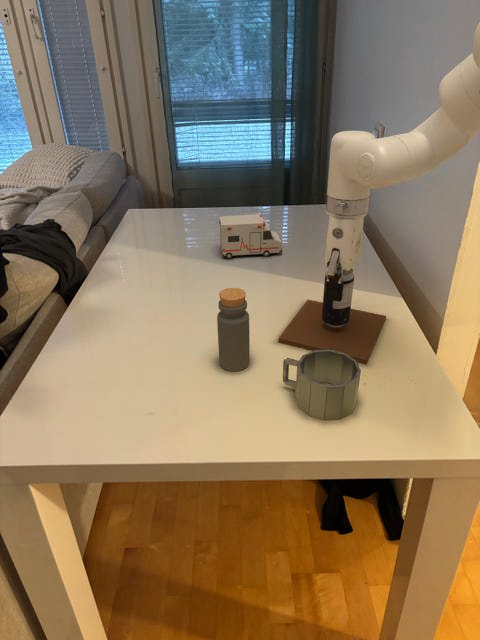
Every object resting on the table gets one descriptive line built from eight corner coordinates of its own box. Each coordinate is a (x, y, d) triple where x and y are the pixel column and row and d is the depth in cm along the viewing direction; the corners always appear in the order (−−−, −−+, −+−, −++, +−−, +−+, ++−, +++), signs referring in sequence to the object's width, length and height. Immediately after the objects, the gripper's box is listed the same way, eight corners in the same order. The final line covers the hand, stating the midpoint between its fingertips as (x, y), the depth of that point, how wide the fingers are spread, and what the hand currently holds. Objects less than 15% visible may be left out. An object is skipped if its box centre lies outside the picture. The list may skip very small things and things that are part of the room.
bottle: (241, 350, 93) (240, 283, 85) (255, 366, 88) (254, 296, 81) (214, 358, 91) (210, 290, 83) (227, 375, 86) (224, 304, 78)
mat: (385, 319, 102) (386, 315, 101) (366, 364, 88) (367, 360, 88) (307, 303, 109) (307, 299, 108) (278, 342, 95) (278, 338, 95)
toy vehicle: (282, 257, 132) (284, 223, 127) (222, 260, 131) (220, 226, 125) (276, 244, 140) (277, 212, 135) (219, 247, 139) (218, 215, 134)
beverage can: (350, 317, 99) (356, 265, 93) (346, 331, 94) (353, 277, 88) (323, 313, 101) (328, 262, 94) (318, 326, 96) (323, 274, 90)
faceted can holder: (361, 390, 82) (366, 358, 78) (346, 427, 74) (350, 393, 71) (292, 371, 87) (294, 340, 83) (271, 404, 79) (272, 371, 76)
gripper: (355, 222, 76) (344, 316, 86) (378, 194, 90) (366, 279, 99) (312, 216, 79) (306, 308, 89) (339, 190, 93) (332, 272, 102)
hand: (338, 292), depth 94 cm, fingers closed on beverage can, 5 cm apart
